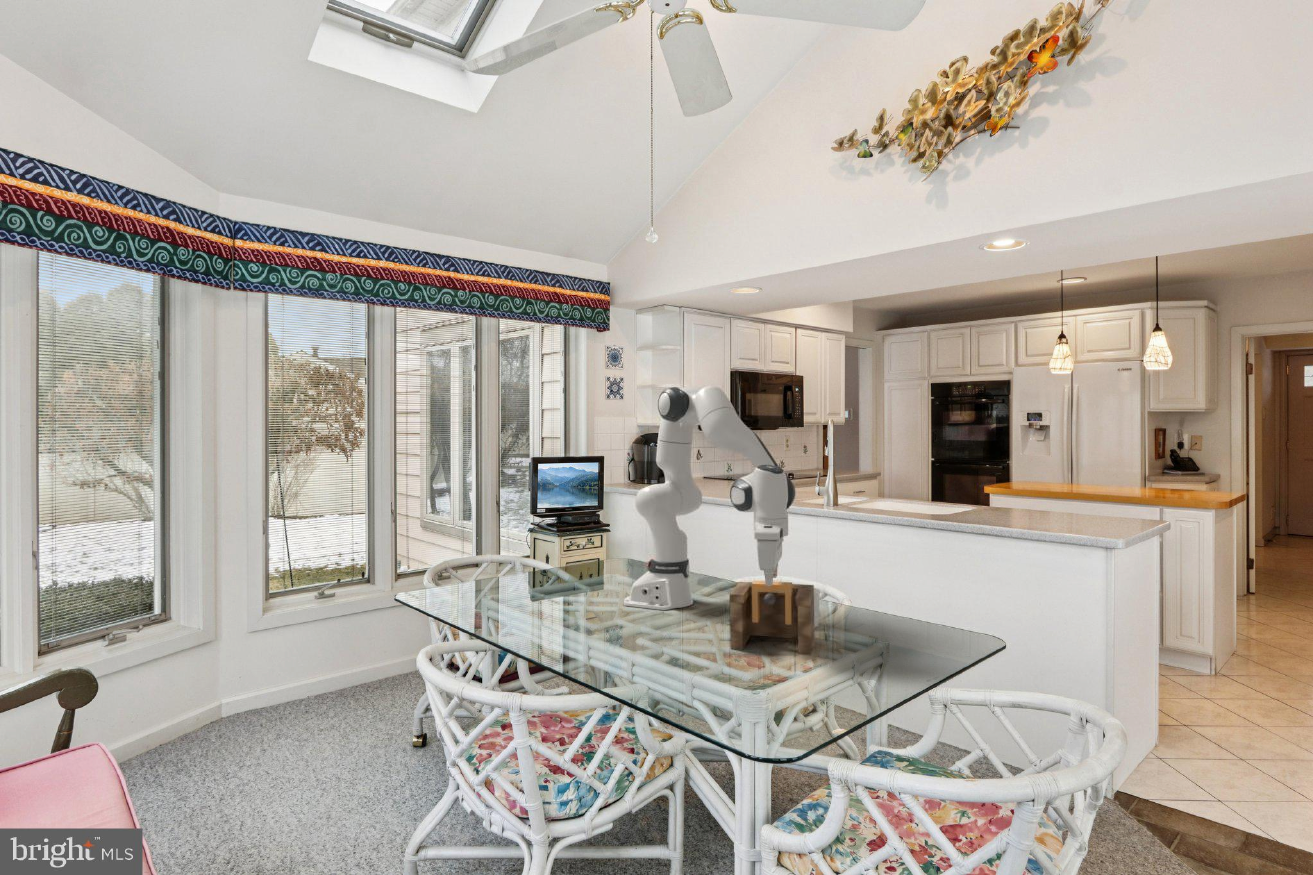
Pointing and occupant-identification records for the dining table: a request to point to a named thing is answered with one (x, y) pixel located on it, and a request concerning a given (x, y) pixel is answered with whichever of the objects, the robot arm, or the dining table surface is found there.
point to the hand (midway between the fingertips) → (771, 581)
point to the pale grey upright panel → (816, 606)
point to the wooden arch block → (775, 588)
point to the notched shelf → (772, 616)
